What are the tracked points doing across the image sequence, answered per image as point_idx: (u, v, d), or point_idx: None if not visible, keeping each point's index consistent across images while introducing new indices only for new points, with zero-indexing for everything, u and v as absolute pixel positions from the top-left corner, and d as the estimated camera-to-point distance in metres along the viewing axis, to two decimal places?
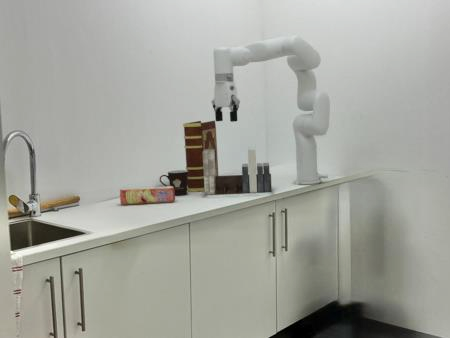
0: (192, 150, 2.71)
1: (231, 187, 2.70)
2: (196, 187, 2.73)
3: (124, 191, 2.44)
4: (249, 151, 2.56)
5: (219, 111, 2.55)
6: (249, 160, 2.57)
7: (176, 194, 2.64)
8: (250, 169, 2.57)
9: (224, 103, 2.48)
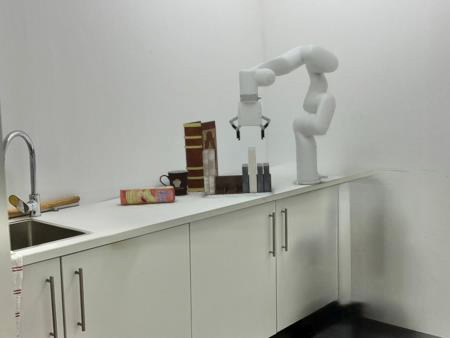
0: (192, 150, 2.71)
1: (231, 187, 2.70)
2: (196, 187, 2.73)
3: (124, 191, 2.44)
4: (249, 151, 2.56)
5: None
6: (249, 160, 2.57)
7: (176, 194, 2.64)
8: (250, 169, 2.57)
9: (255, 123, 2.58)
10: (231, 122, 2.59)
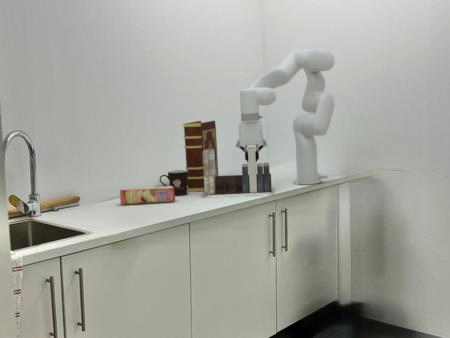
0: (192, 150, 2.71)
1: (231, 187, 2.70)
2: (196, 187, 2.73)
3: (124, 191, 2.44)
4: (249, 151, 2.56)
5: (247, 152, 2.62)
6: (249, 160, 2.57)
7: (176, 194, 2.64)
8: (250, 169, 2.57)
9: (256, 142, 2.59)
10: (238, 145, 2.61)
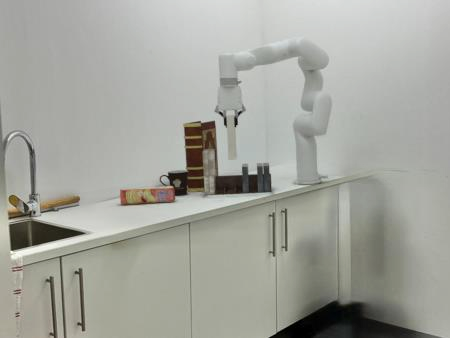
0: (192, 150, 2.71)
1: (231, 187, 2.70)
2: (196, 187, 2.73)
3: (124, 191, 2.44)
4: (228, 117, 2.54)
5: None
6: (228, 127, 2.55)
7: (176, 194, 2.64)
8: (229, 136, 2.55)
9: (235, 107, 2.57)
10: (217, 111, 2.58)
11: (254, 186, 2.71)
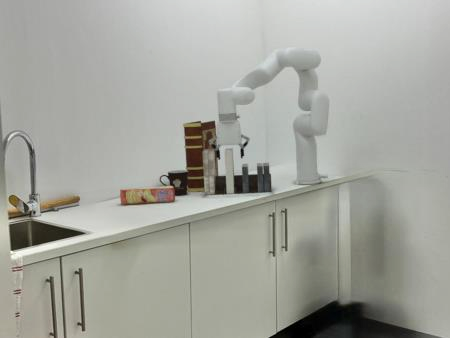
0: (192, 150, 2.71)
1: None
2: (196, 187, 2.73)
3: (124, 191, 2.45)
4: (226, 152, 2.56)
5: (219, 150, 2.61)
6: (226, 161, 2.56)
7: (176, 194, 2.64)
8: (227, 170, 2.57)
9: (234, 142, 2.59)
10: (210, 142, 2.60)
11: (254, 186, 2.71)
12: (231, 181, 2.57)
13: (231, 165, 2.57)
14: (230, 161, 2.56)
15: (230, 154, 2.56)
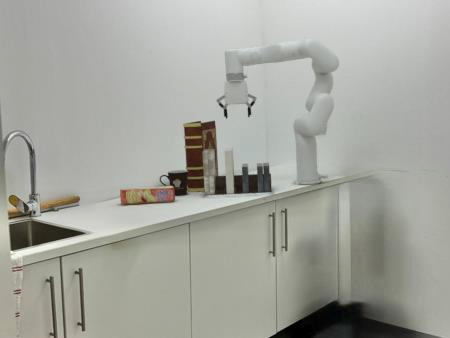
0: (192, 150, 2.71)
1: None
2: (196, 187, 2.73)
3: (124, 191, 2.45)
4: (226, 152, 2.56)
5: (226, 109, 2.69)
6: (226, 161, 2.56)
7: (176, 194, 2.64)
8: (227, 170, 2.57)
9: (242, 101, 2.66)
10: (218, 101, 2.67)
11: (254, 186, 2.71)
12: (231, 181, 2.57)
13: (231, 165, 2.57)
14: (230, 161, 2.56)
15: (230, 154, 2.56)
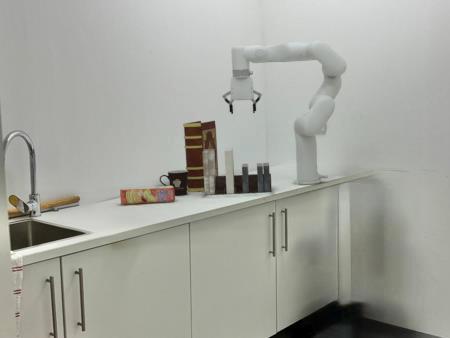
0: (192, 150, 2.71)
1: None
2: (196, 187, 2.73)
3: (124, 191, 2.45)
4: (226, 152, 2.56)
5: None
6: (226, 161, 2.56)
7: (176, 194, 2.64)
8: (227, 170, 2.57)
9: (247, 97, 2.72)
10: (224, 96, 2.73)
11: (254, 186, 2.71)
12: (231, 181, 2.57)
13: (231, 165, 2.57)
14: (230, 161, 2.56)
15: (230, 154, 2.56)
